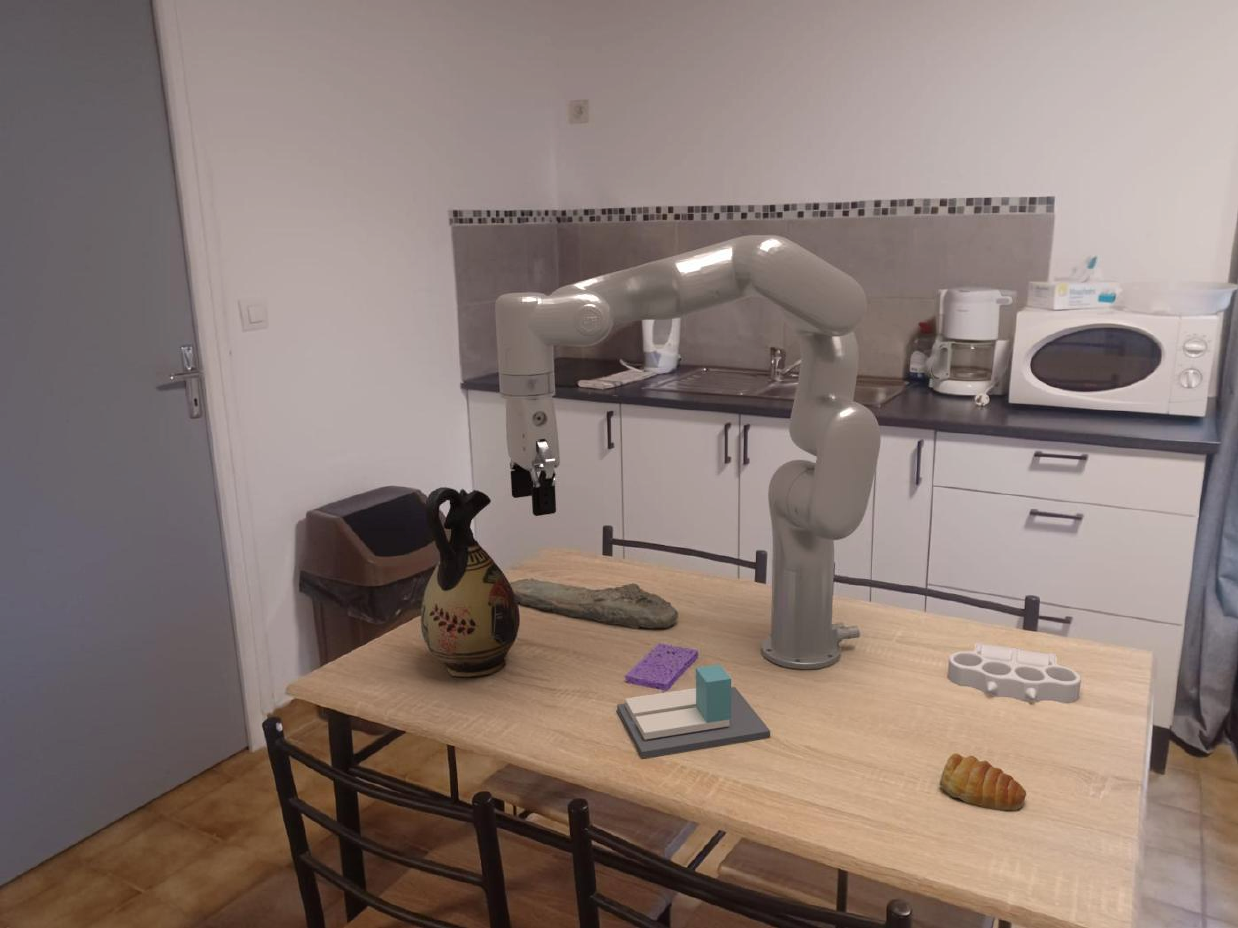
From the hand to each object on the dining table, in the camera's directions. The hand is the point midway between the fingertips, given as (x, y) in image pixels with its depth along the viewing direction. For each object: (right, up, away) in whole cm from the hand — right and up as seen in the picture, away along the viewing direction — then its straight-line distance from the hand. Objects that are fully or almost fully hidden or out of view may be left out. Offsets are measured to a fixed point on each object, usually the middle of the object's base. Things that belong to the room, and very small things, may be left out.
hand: (533, 504), depth 132 cm
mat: (+22, -30, -2) cm, 38 cm away
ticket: (+19, -29, +1) cm, 35 cm away
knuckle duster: (+71, -27, +9) cm, 77 cm away
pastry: (+56, -34, -18) cm, 68 cm away
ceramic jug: (-12, -27, +17) cm, 34 cm away
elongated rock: (+7, -21, +38) cm, 44 cm away
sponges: (+19, -27, +15) cm, 36 cm away
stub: (+21, -30, -4) cm, 37 cm away
